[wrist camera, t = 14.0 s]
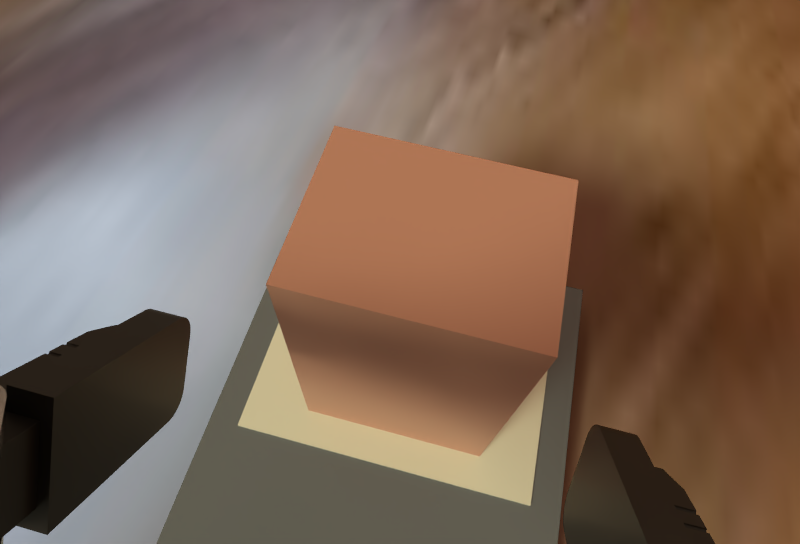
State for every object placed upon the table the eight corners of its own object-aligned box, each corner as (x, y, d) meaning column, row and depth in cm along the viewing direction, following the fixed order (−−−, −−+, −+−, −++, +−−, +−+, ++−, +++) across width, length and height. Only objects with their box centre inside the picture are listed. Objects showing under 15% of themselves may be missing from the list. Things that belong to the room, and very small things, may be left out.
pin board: (-17, 980, 13) (-150, 1113, 10) (297, 234, 24) (285, 175, 21) (482, 1169, 12) (525, 1390, 9) (574, 301, 23) (610, 251, 20)
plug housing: (308, 410, 19) (265, 284, 11) (348, 293, 22) (336, 123, 14) (479, 456, 19) (557, 357, 11) (501, 331, 21) (578, 177, 13)
